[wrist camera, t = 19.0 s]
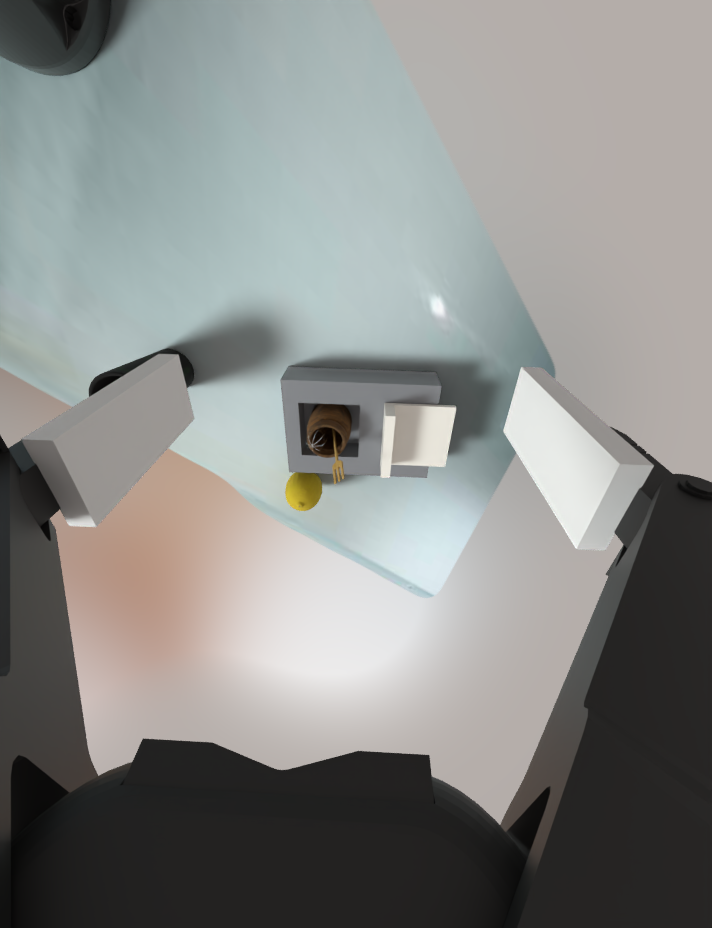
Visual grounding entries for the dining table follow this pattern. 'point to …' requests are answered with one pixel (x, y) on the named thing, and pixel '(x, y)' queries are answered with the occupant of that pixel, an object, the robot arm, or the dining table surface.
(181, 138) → the dining table surface
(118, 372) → the cup
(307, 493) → the lemon
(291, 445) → the socket block
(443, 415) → the panel
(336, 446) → the utensil holder
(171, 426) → the robot arm
